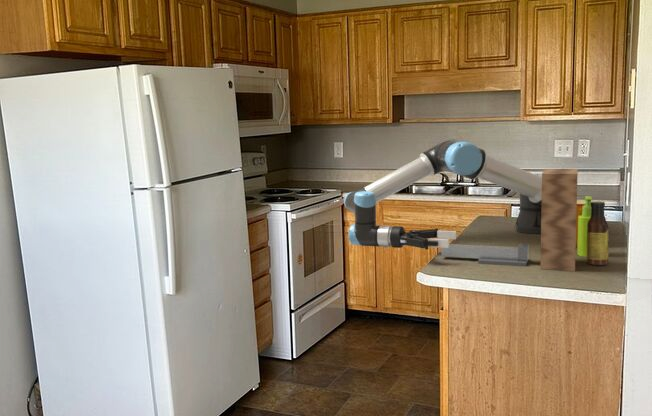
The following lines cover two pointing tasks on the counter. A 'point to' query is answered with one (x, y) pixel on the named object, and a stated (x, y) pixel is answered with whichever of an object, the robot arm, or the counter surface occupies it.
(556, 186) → the brown wooden block
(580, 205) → the baking soda box
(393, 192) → the robot arm
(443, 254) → the pin
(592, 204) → the sauce bottle
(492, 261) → the base plate
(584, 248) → the soap dispenser
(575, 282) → the counter surface
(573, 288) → the counter surface
